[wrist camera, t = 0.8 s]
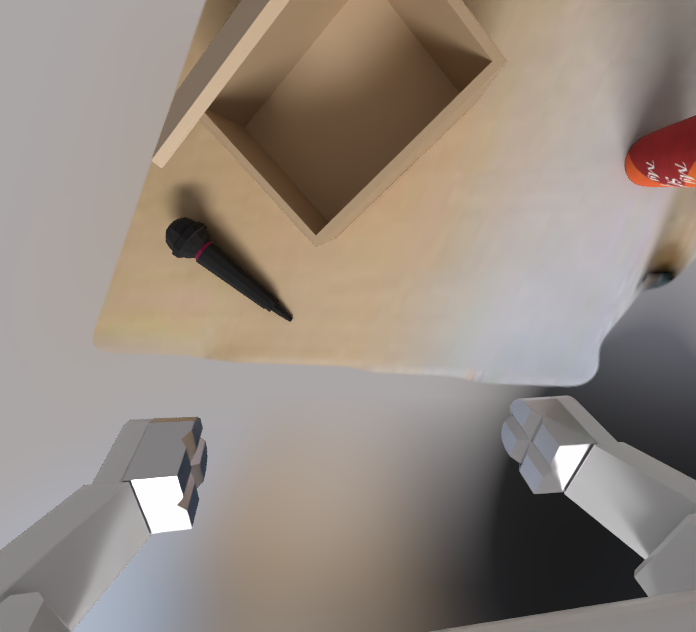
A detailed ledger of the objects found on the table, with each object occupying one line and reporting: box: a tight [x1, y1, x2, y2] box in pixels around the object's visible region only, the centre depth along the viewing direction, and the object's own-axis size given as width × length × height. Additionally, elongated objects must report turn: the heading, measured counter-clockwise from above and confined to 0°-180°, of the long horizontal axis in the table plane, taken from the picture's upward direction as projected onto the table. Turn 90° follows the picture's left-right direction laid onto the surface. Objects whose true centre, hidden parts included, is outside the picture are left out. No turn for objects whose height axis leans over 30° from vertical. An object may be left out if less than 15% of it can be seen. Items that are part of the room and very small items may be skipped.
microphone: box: [166, 217, 293, 321], centre depth 47 cm, size 6×6×20 cm
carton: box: [199, 0, 507, 247], centre depth 36 cm, size 18×22×12 cm
